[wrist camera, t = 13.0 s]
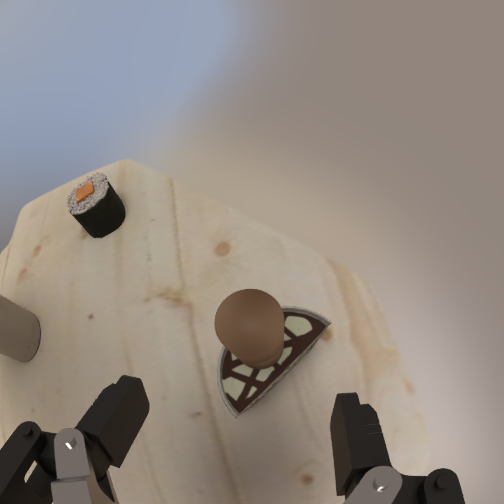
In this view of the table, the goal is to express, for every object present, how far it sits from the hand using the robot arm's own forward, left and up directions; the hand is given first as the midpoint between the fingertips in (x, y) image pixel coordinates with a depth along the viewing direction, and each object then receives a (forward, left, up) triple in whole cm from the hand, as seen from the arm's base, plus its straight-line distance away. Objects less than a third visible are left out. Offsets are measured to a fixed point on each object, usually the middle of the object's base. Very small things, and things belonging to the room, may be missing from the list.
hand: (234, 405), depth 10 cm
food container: (0, +5, -22) cm, 23 cm away
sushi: (-29, +26, -22) cm, 45 cm away
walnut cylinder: (0, +5, -12) cm, 13 cm away
